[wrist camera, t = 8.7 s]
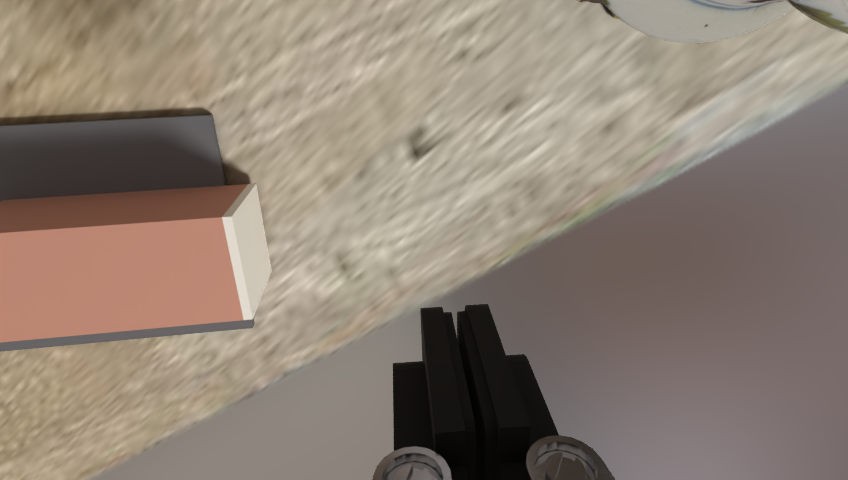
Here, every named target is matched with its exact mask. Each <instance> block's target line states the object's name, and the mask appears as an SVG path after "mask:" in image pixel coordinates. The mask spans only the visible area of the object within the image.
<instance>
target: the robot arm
mask: <svg viewBox="0 0 848 480" xmlns="http://www.w3.org/2000/svg"><path fill="white" fill-rule="evenodd" d="M421 334H422V355H423V356H422V357H423V361H420V362H406V363H393V403H394V405H393V406H394V408H393V409H394V451H393V452H392V453H390V454H389V455H387V456H386V457H384V458H383V460H382V461H381V462H380V463H379V465H378V466H377V468H376V470H375V473H374V476H373V480H615V478H614V477H613V476H612V474H611V472H610V471H609V470H608V468H607V466H606V465H605V463H604V462H603V461H602V459H601V458H600V457H599V456H598V454H597V453H596V452H595V451H594V450H593V449H592V448H591V447H589V446H588V445H586V444H585V443H583V442H581V441H579V440H576V439H574V438H571V437H566V436H560V435H559V434H558V432H557V430H556V427H555V425H554V423H553V420H552V417H551V415H550V412H549V410H548V408H547V405H546V403H545V400H544V398H543V395H542V393H541V391H540V388H539V386H538V383H537V381H536V379H535V376H534V373H533V371H532V369H531V366H530V364H529V361H528V359H527V357H526V356H525V355H524V354H522V355H507V356H506V355H505V352H504V349H503V346H502V343H501V340H500V337H499V335H498V332H497V329H496V326H495V323H494V320H493V317H492V314H491V312H490V309H489V306H488V304H480V305H466V306H465V311H462V312H458V313H457V337H456V332H455V327H454V323H453V318H452V313H451V312H445V313H443V308H442V307H433V308H421Z"/></svg>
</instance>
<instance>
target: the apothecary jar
mask: <svg viewBox="0 0 848 480" xmlns="http://www.w3.org/2000/svg"><path fill="white" fill-rule="evenodd" d="M577 1H579V2H582V1H588V2H593V3H602V4H604V5H605V6H606V7H607V8H608V9H609V12H610V14H611V16H612V17H614V18H617V19H620V20H622V21H623V22H625V23H626V24H628V25H629V26H631V27H632V28H634V29H636V30H638V31H640V32H642V33H644V34H647V35H649V36H652V37H655V38H659V39H662V40H666V41H671V42H679V43H706V42H713V41H719V40H724V39H728V38H732V37H736V36H739V35H742V34H745V33H748V32H751V31H753V30H756V29H758V28H760V27H763V26H765V25H767V24H769V23H771V22H773V21H775V20H777V19H779V18H780V17H782V16H784V15H785V14H787V13H789V12H790V11H792V10H793V9H795V8H796V9H798V10H799V11H801V12H802V13H803V14H805V15H806V16H808V17H810V18H811V19H813V20H815V21H817V22H819V23H821V24H823V25H825V26H827V27H830V28H832V29H835V30H837V31H840V32H843V33H846V34H848V0H577Z"/></svg>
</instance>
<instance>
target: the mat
mask: <svg viewBox="0 0 848 480" xmlns="http://www.w3.org/2000/svg"><path fill="white" fill-rule="evenodd" d="M213 186H227V184H226V179H225V174H224V170H223V165H222V160H221V155H220V150H219V145H218V140H217V135H216V130H215V125H214V120H213V115H212V114H204V115H185V116H166V117H146V118H127V119H108V120H89V121H70V122H50V123H31V124H12V125H0V202H1V201H3V200H14V199H29V198H45V197H60V196H75V195H90V194H106V193H121V192H136V191H151V190H167V189H182V188H197V187H213ZM253 326H254V318H253V319H251V320H240V321H230V322H219V323H208V324H197V325H186V326H175V327H164V328H153V329H142V330H131V331H120V332H109V333H99V334H88V335H77V336H66V337H55V338H44V339H33V340H22V341H11V342H0V351H11V350H21V349H32V348H43V347H53V346H64V345H75V344H85V343H96V342H107V341H117V340H128V339H139V338H150V337H160V336H171V335H182V334H192V333H203V332H214V331H224V330H235V329H246V328H253Z"/></svg>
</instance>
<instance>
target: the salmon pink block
mask: <svg viewBox="0 0 848 480" xmlns="http://www.w3.org/2000/svg"><path fill="white" fill-rule="evenodd" d="M271 271H272V270H271V265H270V259H269V254H268V248H267V242H266V237H265V231H264V225H263V220H262V214H261V208H260V203H259V197H258V191H257V186H256V184H243V185H228V186H213V187H197V188H182V189H167V190H151V191H136V192H121V193H106V194H90V195H75V196H60V197H45V198H29V199H14V200H3V201H1V202H0V342H11V341H22V340H33V339H44V338H55V337H66V336H77V335H88V334H99V333H109V332H120V331H131V330H142V329H153V328H164V327H175V326H186V325H197V324H208V323H219V322H230V321H240V320H251V319H253V317H254V315H255V312H256V310H257V307H258V305H259V302H260V299H261V297H262V294H263V292H264V289H265V287H266V284H267V282H268V279H269V277H270V274H271Z"/></svg>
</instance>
